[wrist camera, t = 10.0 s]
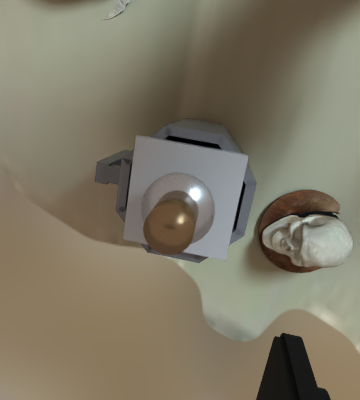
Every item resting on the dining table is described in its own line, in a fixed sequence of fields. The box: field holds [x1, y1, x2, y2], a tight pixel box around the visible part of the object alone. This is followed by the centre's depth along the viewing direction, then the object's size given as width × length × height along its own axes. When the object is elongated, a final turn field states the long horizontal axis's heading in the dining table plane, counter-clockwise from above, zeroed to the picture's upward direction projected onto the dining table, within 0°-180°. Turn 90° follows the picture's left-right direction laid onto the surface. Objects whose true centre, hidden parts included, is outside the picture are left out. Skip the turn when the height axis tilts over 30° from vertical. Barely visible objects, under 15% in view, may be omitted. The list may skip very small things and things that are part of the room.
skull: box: [259, 190, 353, 273], centre depth 46 cm, size 12×10×10 cm
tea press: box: [95, 118, 256, 263], centre depth 38 cm, size 15×12×19 cm
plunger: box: [141, 138, 222, 255], centre depth 33 cm, size 8×8×23 cm
